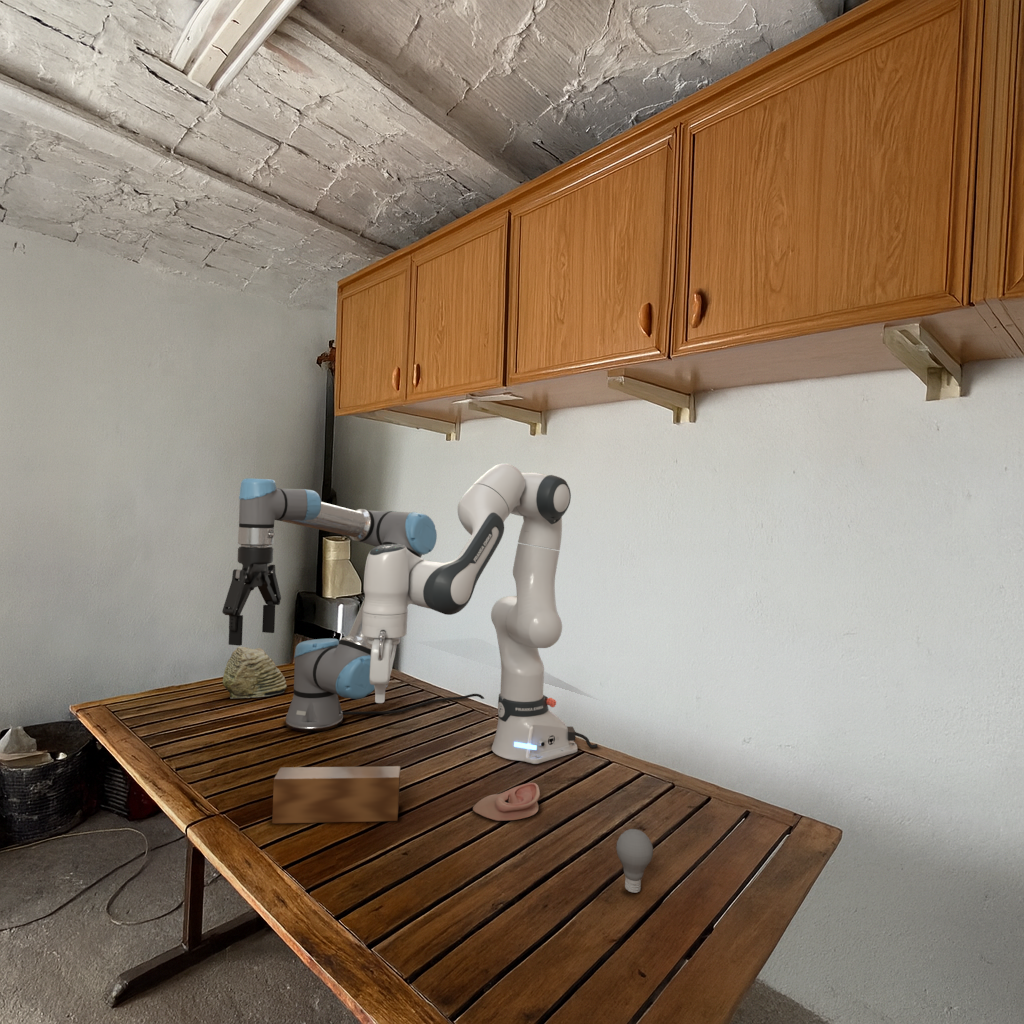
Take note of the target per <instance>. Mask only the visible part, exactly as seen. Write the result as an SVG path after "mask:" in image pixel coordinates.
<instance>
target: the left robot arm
mask: <svg viewBox="0 0 1024 1024" xmlns="http://www.w3.org/2000/svg"><path fill="white" fill-rule="evenodd" d="M238 500H239V510H238V532H237V534H238V535H237V544H238V545H240V546H238V548H237V563H239V564H241V565H242V567H241V569H236V568H235V569H233V570H232V577H231V581H230V585H229V589H228V592H227V595H226V597H225V601H224V604H223V607H222V610H221V611H222V612H221V613H222V614H223V615H224V616H228V646H238V647H241V646H242V645H243V629H244V625H243V623H244V615H243V614H242V612H243V609H244V608H245V606H246V603H247V601H248V598H249V596H250V595H251V592H252V591H254V590H255V589H256V588H257V589H258V590H259V593H260V594H261V597H262V599H263V601H264V603H265V604H263V605H262V625H261V626H262V627H261V632H262V633H266V634H267V633H268V634H275V626H276V625H275V623H276V606H280V604H281V601H282V596H281V592H280V590H281V589H280V587H279V582H278V579H277V574H276V565H275V564H273V562H274V548H273V545H274V537H275V530H274V529H275V522H276V521H277V522H283V523H288V524H292V525H298V526H301V527H307V528H311V529H315V530H320V531H325V532H330V533H335V534H339V535H344V536H349V538H350V539H351V540H352V541H354V542H358V543H363V544H366V545H369V546H372V547H374V548H375V547H377V546H380V545H386V544H401V545H404V546H406V548H407V549H408V550H409V551H410V552H411V553H413V554H414V555H416V556H418V557H420V558H422V557H423V556H425V555H427V554H429V553H431V552H432V551H433V550H434V549H435V546H436V544H437V539H438V534H437V533H438V532H437V529H436V525H435V522H434V521H433V519H432V518H431V517H430V516H429V515H427V514H425V513H422V512H421V513H420V512H416V511H412V512H411V511H409V512H408V511H397V510H396V511H394V510H370V509H365V508H358V509H356V510H354V509H350V508H348V507H347V508H346V507H342V506H339V505H335V504H331V503H327V502H324V501H322V499H321V496H320V494H319V493H318V492H317V491H316V490H313V489H306V488H281V487H277V483H276V481H275V480H274V479H270V478H269V479H268V478H250V477H249V478H248V477H247V478H243V479H242V480H241V482H240V487H239V495H238ZM364 604H365V597H364V598H363V600H362V603H361V606H360V608H359V610H358V612H357V615H356V617H355V619H354V622H353V624H352V626H351V628H350V630H349V632H348V635H346V636H344V637H343V636H342V637H341V638H340V639H337V638H317V639H316V638H315V639H308V640H304V641H300V642H299V643H298V644H297V645H296V646H295V650H294V651H295V652H294V655H293V658H294V672H293V673H294V674H293V695H292V696H293V697H292V699H291V702H290V704H289V708H288V711H287V713H286V715H285V726H286V728H287V729H289V730H291V731H294V732H295V731H296V732H301V733H316V732H325V731H329V730H332V729H335V728H337V727H339V726H340V725H342V723H343V722H344V716H351V715H352V716H353V715H359V716H360V715H393V714H399V713H403V712H407V711H410V710H413V709H416V708H420V707H423V706H426V705H429V704H433V703H436V702H444V701H453V700H454V701H455V700H465V699H469V698H472V697H473V698H474V697H478V698H480V699H481V700H485V697H484V696H483V695H482V694H479V693H471V694H466V695H463V696H450V697H441V698H434V699H430V700H426V701H423V702H421V703H417V704H414V705H410V706H408V707H405V708H401V709H395V710H386V711H385V710H381V711H379V710H378V711H377V710H376V711H375V710H374V711H372V710H371V711H343V709H342V706H341V702H340V699H339V696H340V697H342V698H345V699H351V700H362V699H365V698H366V697H367V696H369V695H371V694H372V693H373V692H375V687H374V686H375V685H371V684H370V680H369V676H370V658H371V648H372V645H371V644H369V643H368V637H366V636H363V635H362V616H363V607H364Z"/></svg>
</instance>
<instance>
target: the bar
mask: <svg viewBox="0 0 1024 1024" xmlns="http://www.w3.org/2000/svg"><path fill="white" fill-rule="evenodd" d="M400 785H401V766H400V765H393V766H391V765H390V766H388V765H387V766H386V765H385V766H382V765H381V766H295V767H294V766H291V767H284V766H283V767H281V766H280V767H279V769H278V771H277V773H276V774H275V776H274V778H273V791H272V792H273V793H272V815H271V816H272V817H271V818H272V819H271V820H272V821H271V823H272V824H273V825H274V824H315V823H317V824H318V823H362V822H363V823H364V822H365V823H366V822H367V823H370V822H398V819H399V809H400V808H399V807H400Z"/></svg>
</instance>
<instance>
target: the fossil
mask: <svg viewBox="0 0 1024 1024" xmlns="http://www.w3.org/2000/svg"><path fill="white" fill-rule="evenodd" d="M222 676H223V677H222V685H223V687H224V688H225V690H226V691H228V693H229V698H230V699H250V698H264V697H271V696H275V695H281V694H284V693H285V691H286V689H287V687H288V686H287V680H286V678H285V676H284V674H283V673H282V672H281V669H279V668H278V667H277V665H276V663H275V662H274V660H273V659H272V658H271V657H270V656H269V655H268V654H267V653H266V652H265V650H264V649H263V648H260V647H258V648H251V647H247V646H246V647H245V646H238V647H237V648H236V649H235V650H233V651H232V653H231V656H230V657H229V659H228V660H227V663H226V666H225V668H224V671H223V675H222Z"/></svg>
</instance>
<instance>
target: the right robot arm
mask: <svg viewBox="0 0 1024 1024" xmlns="http://www.w3.org/2000/svg"><path fill="white" fill-rule="evenodd" d="M571 496H572V494H571V489H570V486H569V484H568V482H567V481H566V480H565V479H564V478H562V477H560V476H557V475H553V474H549V475H548V474H545V473H539V472H531V471H530V472H521V471H520V469H518V468H517V467H516V466H515V465H512V464H510V463H502V462H501V463H498V464H496V465H494V466H492V467H491V468H490V469H488V470H486V472H484V474H482V475H481V476H480V477H479V478H478V479H476V481H475V482H474V483H472V485H471V486H470V487H469V488H468V489H467V490H466V492H465V493H464V494H463V495H462V497H461V498H460V500H459V502H458V504H457V516H458V519H459V522H460V524H461V525H462V527H463V528H464V529H465V531H466V532H467V533H468V534H469V535H470V537H469V539H468V540H467V542H466V543H465V544H464V546H463V548H462V549H461V551H460V552H459V554H458V556H457V557H456V558H454V559H453V560H449V561H447V562H439V561H432V560H430V559H429V560H428V559H424V558H422V557H421V558H420V557H418V556H416V555H414V554H413V553H411V552H410V551H409V550H408V549H407V548H406V546H404V545H401V544H386V545H380V546H377V547H375V546H374V547H373V548H371V550H370V551H369V552H368V554H367V557H366V561H365V567H364V572H363V573H364V575H363V594H364V598H365V604H364V607H363V616H362V635H363V636H366V637H368V643H369V644H371V645H372V648H371V658H370V676H369V680H370V684H371V685H375V686H374V687H375V690H374V696H375V697H374V702H375V703H376V704H384V703H385V701H386V689H387V688H388V686H389V684H390V680H391V675H392V670H393V666H394V661H395V657H396V652H397V647H398V646H397V645H399V644H400V643H401V638H402V637H405V636H407V633H408V611H409V610H408V607H409V605H414V606H418V607H420V608H426V609H430V610H432V611H436V613H437V612H438V613H440V614H443V615H447V616H451V615H455V614H457V613H460V612H461V611H462V610H463V609H465V608H466V606H468V604H469V602H470V601H471V599H472V597H473V594H474V591H475V588H476V585H477V583H478V581H479V579H480V577H481V575H482V574H483V572H484V570H485V569H486V566H487V565H488V563H489V562H490V560H491V559H492V557H493V555H494V553H495V552H496V550H497V549H498V546H499V544H500V543H501V540H502V538H503V535H504V532H505V521H506V520H507V519H508V517H509V515H515V516H519V517H522V519H523V521H522V524H521V529H520V531H519V535H518V540H517V544H516V546H517V547H516V550H515V555H514V562H513V566H512V576H513V579H514V582H515V589H516V595H508V596H503V597H501V598H499V599H498V600H496V602H494V604H493V605H492V608H491V612H490V618H491V622H492V624H493V627H494V629H495V633H496V639H497V645H498V650H499V657H500V692H499V694H498V698H497V699H498V700H497V701H498V702H497V724H496V731H495V735H494V739H493V742H492V745H491V751H492V752H493V753H494V754H495V755H496V756H498V757H500V758H503V759H507V760H511V761H516V762H517V761H519V762H526V763H528V764H533V765H538V764H542V763H545V762H549V761H551V760H555V759H559V758H562V757H565V756H568V755H572V754H576V753H578V752H579V751H578V744H577V743H576V742H575V741H576V737H578V738H581V739H583V740H584V742H585V743H586V744H587V747H588V748H590V749H596V748H598V746H599V745H598V743H594V744H592V743H591V742H590V739H589V738H588V737H587V736H586V735H584V734H582V733H579V732H577V731H576V730H575V728H574V726H567V724H566V722H565V721H563V720H562V719H561V718H560V717H559V716H557V714H555V713H554V712H553V711H552V710H550V709H549V707H551V708H555V707H556V706H557V700H556V699H554V698H552V697H548V696H546V695H545V694H544V681H545V666H544V663H543V660H542V658H541V655H540V653H539V649H548V648H550V647H552V646H554V645H555V644H556V643H557V642H558V641H559V640H560V638H561V635H562V633H563V621H562V619H561V617H560V614H559V612H558V608H557V600H556V575H557V569H558V562H559V556H560V550H561V544H562V538H563V537H562V536H563V516H564V515H565V514H566V512H567V511H568V509H569V507H570V505H571V498H572V497H571Z"/></svg>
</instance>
